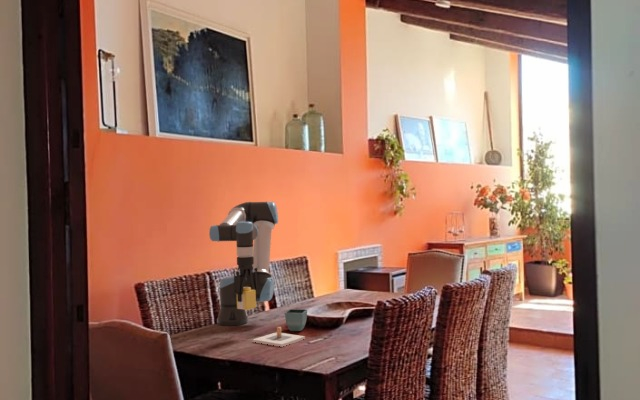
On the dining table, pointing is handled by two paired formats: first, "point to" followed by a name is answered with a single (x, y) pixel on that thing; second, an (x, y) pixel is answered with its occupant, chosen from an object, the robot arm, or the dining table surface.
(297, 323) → the flower pot
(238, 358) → the dining table surface
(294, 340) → the post board
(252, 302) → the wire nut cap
